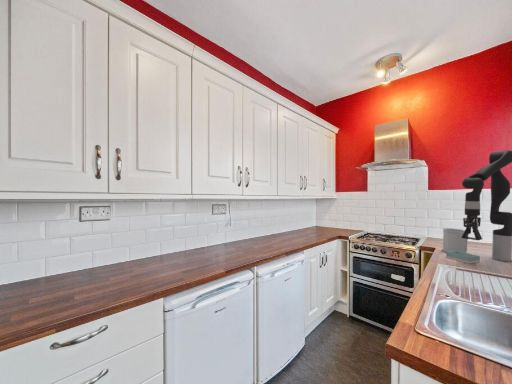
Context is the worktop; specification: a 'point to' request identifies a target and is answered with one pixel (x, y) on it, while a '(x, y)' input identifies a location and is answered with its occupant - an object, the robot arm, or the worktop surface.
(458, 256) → the socket base
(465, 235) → the black v-shaped piece
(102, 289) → the worktop surface
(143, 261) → the worktop surface
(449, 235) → the utensil holder
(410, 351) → the worktop surface
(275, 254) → the worktop surface
